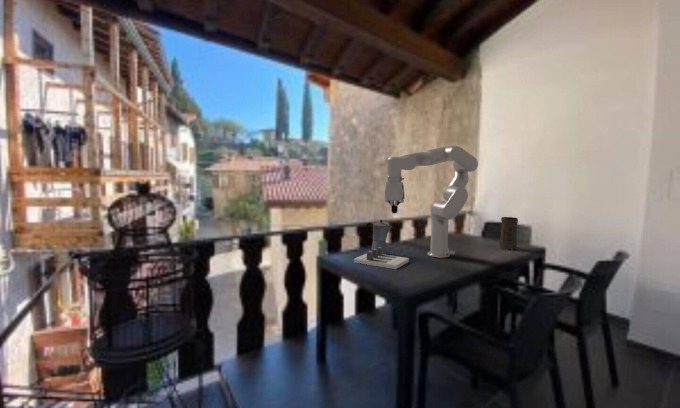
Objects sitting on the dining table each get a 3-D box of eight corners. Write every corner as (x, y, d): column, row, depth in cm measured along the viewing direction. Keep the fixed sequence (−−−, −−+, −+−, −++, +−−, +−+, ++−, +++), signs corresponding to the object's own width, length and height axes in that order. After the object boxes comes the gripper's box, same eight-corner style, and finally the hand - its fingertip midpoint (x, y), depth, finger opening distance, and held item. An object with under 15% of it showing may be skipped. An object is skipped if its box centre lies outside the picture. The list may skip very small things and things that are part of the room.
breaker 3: (382, 254, 231) (382, 247, 231) (380, 255, 229) (380, 248, 228) (378, 253, 233) (378, 246, 232) (376, 255, 230) (376, 247, 230)
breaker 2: (378, 256, 226) (378, 249, 226) (375, 257, 224) (375, 250, 223) (374, 256, 227) (374, 248, 227) (371, 257, 225) (371, 249, 224)
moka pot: (390, 256, 237) (391, 221, 235) (363, 254, 240) (364, 220, 238) (391, 252, 247) (393, 219, 244) (366, 251, 250) (366, 217, 247)
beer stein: (520, 250, 258) (521, 218, 257) (502, 250, 258) (504, 217, 257) (510, 247, 273) (511, 216, 272) (493, 246, 273) (495, 216, 273)
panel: (408, 261, 226) (408, 257, 225) (395, 269, 210) (396, 265, 210) (368, 255, 238) (368, 252, 237) (353, 262, 222) (353, 258, 222)
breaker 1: (373, 258, 221) (373, 251, 221) (370, 260, 219) (371, 252, 218) (369, 258, 222) (369, 250, 222) (366, 259, 220) (366, 251, 219)
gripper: (409, 179, 228) (409, 212, 230) (384, 179, 235) (384, 211, 237) (405, 180, 221) (405, 214, 223) (379, 180, 228) (379, 213, 230)
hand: (394, 213), depth 230 cm, fingers closed
